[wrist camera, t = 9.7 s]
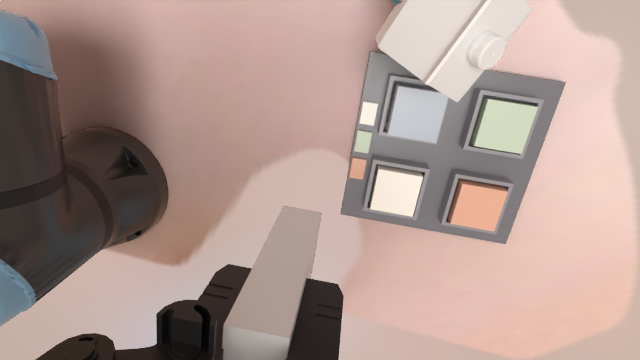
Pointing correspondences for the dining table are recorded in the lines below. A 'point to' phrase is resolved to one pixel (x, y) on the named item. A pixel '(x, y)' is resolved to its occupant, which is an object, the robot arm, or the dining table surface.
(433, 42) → the milk carton
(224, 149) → the dining table surface
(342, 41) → the dining table surface
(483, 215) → the terracotta key
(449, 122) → the keypad
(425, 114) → the slate key
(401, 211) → the cream key
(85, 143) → the robot arm
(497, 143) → the sage key
